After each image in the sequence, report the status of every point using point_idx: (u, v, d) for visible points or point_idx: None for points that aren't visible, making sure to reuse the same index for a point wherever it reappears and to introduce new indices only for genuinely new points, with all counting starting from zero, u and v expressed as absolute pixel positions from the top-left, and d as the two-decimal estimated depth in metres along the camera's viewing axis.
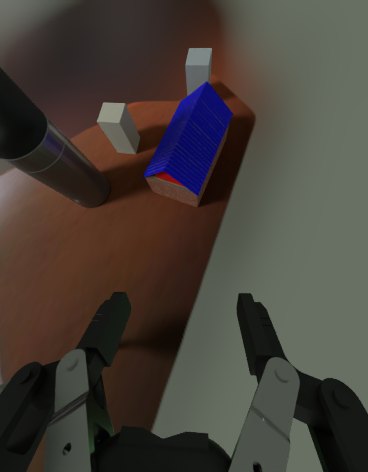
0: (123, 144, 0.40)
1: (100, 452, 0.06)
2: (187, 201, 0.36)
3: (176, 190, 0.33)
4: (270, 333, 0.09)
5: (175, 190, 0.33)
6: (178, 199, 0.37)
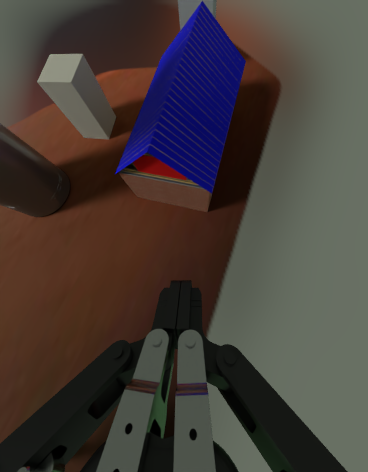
0: (88, 123, 0.27)
1: (100, 452, 0.06)
2: (191, 204, 0.23)
3: (173, 189, 0.20)
4: (197, 312, 0.10)
5: (171, 189, 0.20)
6: (177, 203, 0.24)
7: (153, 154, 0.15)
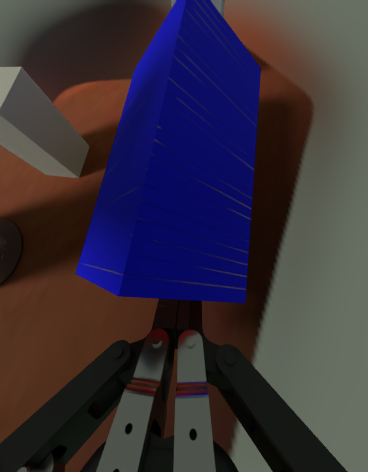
0: (45, 161, 0.19)
1: (100, 452, 0.06)
2: None
3: None
4: (197, 312, 0.10)
5: None
6: None
7: (134, 292, 0.07)
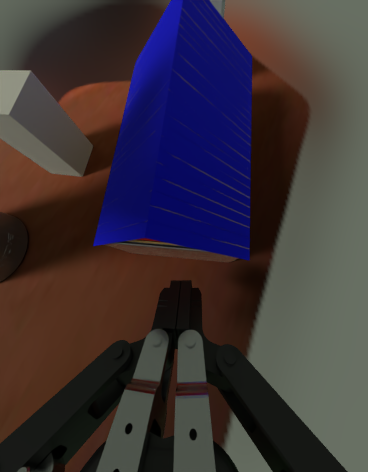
0: (51, 160, 0.20)
1: (100, 452, 0.06)
2: (208, 259, 0.17)
3: (185, 252, 0.14)
4: (197, 312, 0.10)
5: (181, 252, 0.14)
6: (187, 257, 0.18)
7: (156, 237, 0.08)
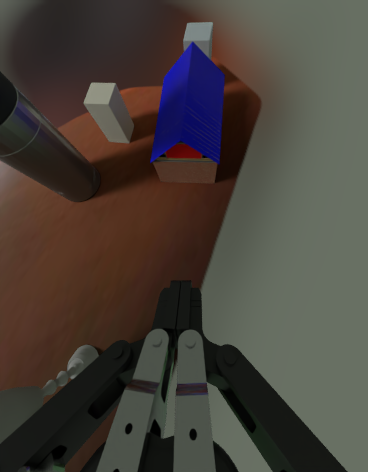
0: (115, 131, 0.36)
1: (100, 452, 0.06)
2: (203, 179, 0.33)
3: (191, 167, 0.30)
4: (197, 312, 0.10)
5: (190, 167, 0.30)
6: (191, 180, 0.34)
7: (183, 141, 0.24)
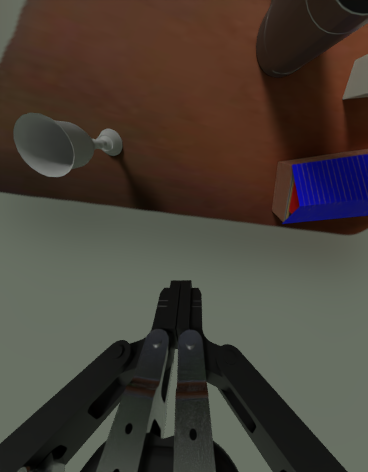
0: (362, 80, 0.26)
1: (100, 452, 0.06)
2: (275, 203, 0.38)
3: (283, 200, 0.34)
4: (197, 312, 0.10)
5: (283, 199, 0.34)
6: (275, 193, 0.38)
7: (299, 207, 0.29)
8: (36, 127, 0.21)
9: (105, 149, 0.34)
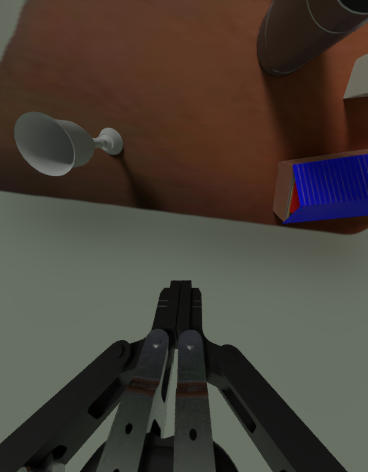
0: (362, 79, 0.26)
1: (100, 452, 0.06)
2: (276, 203, 0.38)
3: (284, 200, 0.34)
4: (197, 312, 0.10)
5: (284, 198, 0.34)
6: (276, 193, 0.38)
7: (299, 207, 0.29)
8: (37, 126, 0.21)
9: (105, 148, 0.34)
